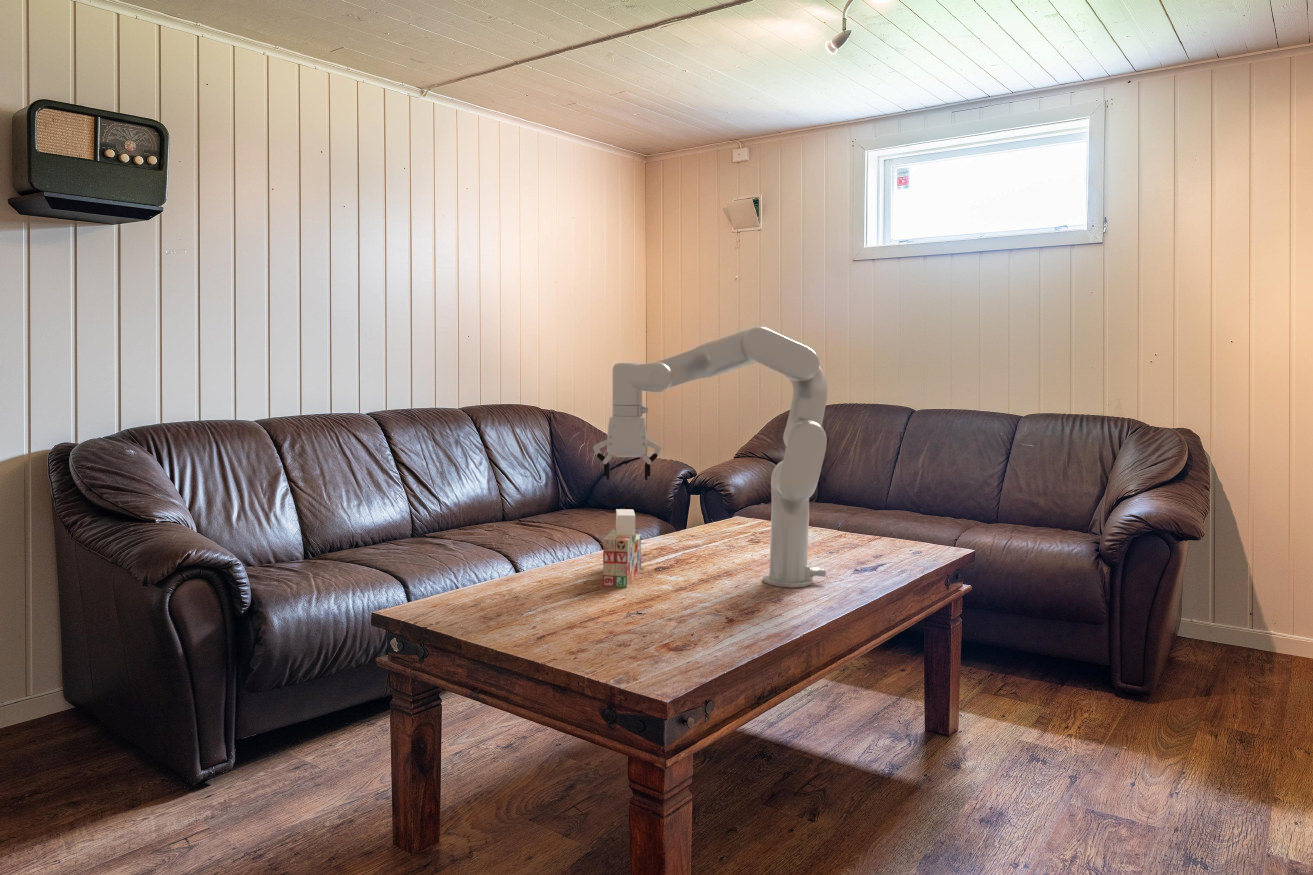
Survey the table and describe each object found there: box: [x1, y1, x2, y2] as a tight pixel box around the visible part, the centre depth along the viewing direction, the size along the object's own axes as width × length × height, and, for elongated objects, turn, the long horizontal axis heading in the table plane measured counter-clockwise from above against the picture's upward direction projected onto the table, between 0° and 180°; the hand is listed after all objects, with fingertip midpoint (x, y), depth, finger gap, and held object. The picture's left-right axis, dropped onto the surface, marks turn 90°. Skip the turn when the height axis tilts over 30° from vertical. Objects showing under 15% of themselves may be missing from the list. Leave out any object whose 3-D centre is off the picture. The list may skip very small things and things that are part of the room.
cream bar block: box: [615, 508, 636, 535], centre depth 223 cm, size 4×9×5 cm, turn 5°
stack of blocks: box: [602, 528, 642, 588], centre depth 225 cm, size 21×6×12 cm, turn 172°
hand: (627, 479), depth 221 cm, fingers open, 9 cm apart
